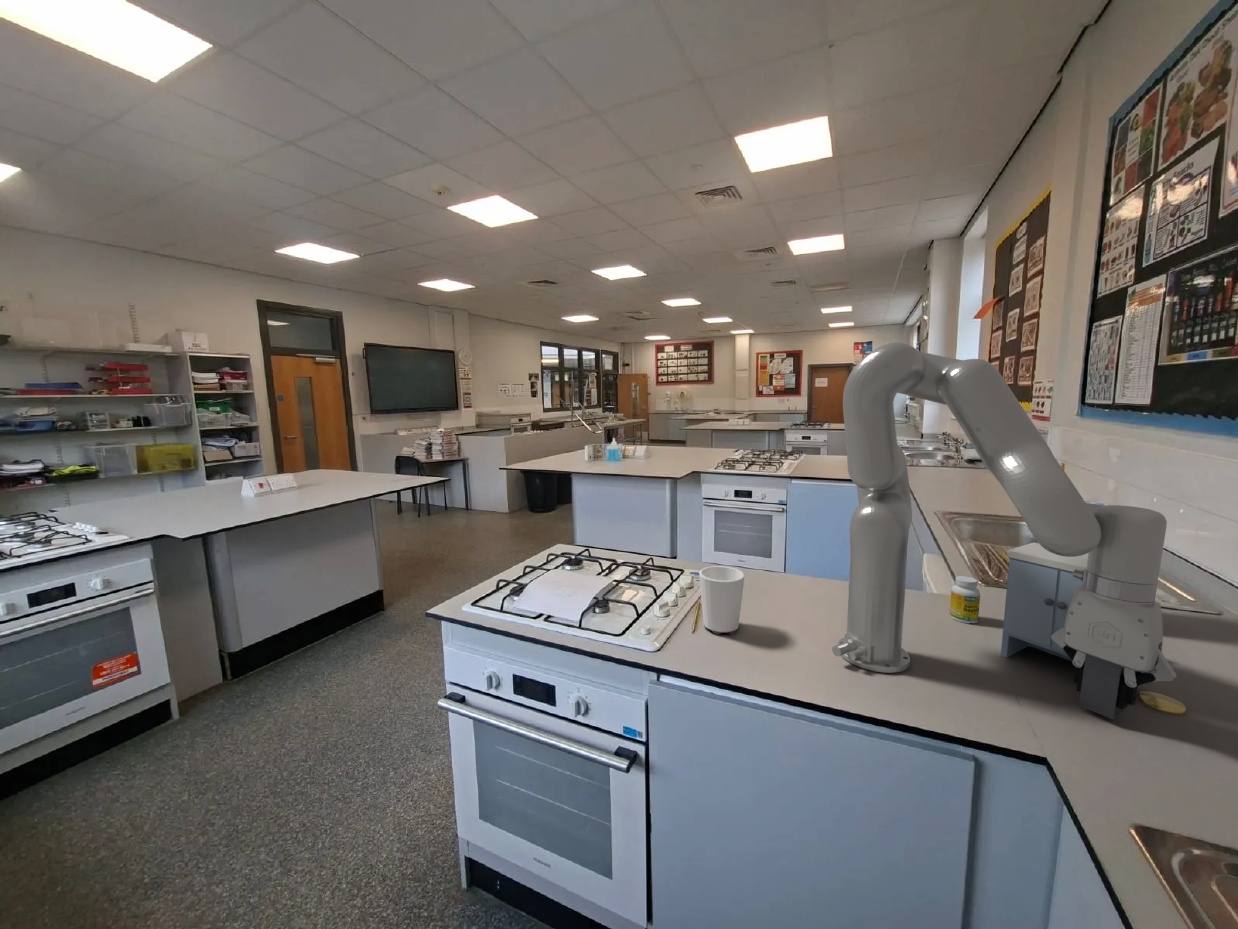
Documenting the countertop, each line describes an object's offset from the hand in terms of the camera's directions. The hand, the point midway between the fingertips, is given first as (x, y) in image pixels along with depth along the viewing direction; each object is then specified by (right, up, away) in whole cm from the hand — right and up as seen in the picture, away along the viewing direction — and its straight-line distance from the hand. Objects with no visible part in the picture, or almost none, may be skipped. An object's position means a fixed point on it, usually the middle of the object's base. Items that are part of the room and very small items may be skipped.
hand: (1102, 696), depth 75 cm
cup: (-54, 0, +31) cm, 62 cm away
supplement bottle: (+3, +1, +34) cm, 34 cm away
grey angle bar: (+5, -2, +3) cm, 6 cm away
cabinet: (+7, -1, +14) cm, 15 cm away
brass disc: (+12, -3, +2) cm, 13 cm away
